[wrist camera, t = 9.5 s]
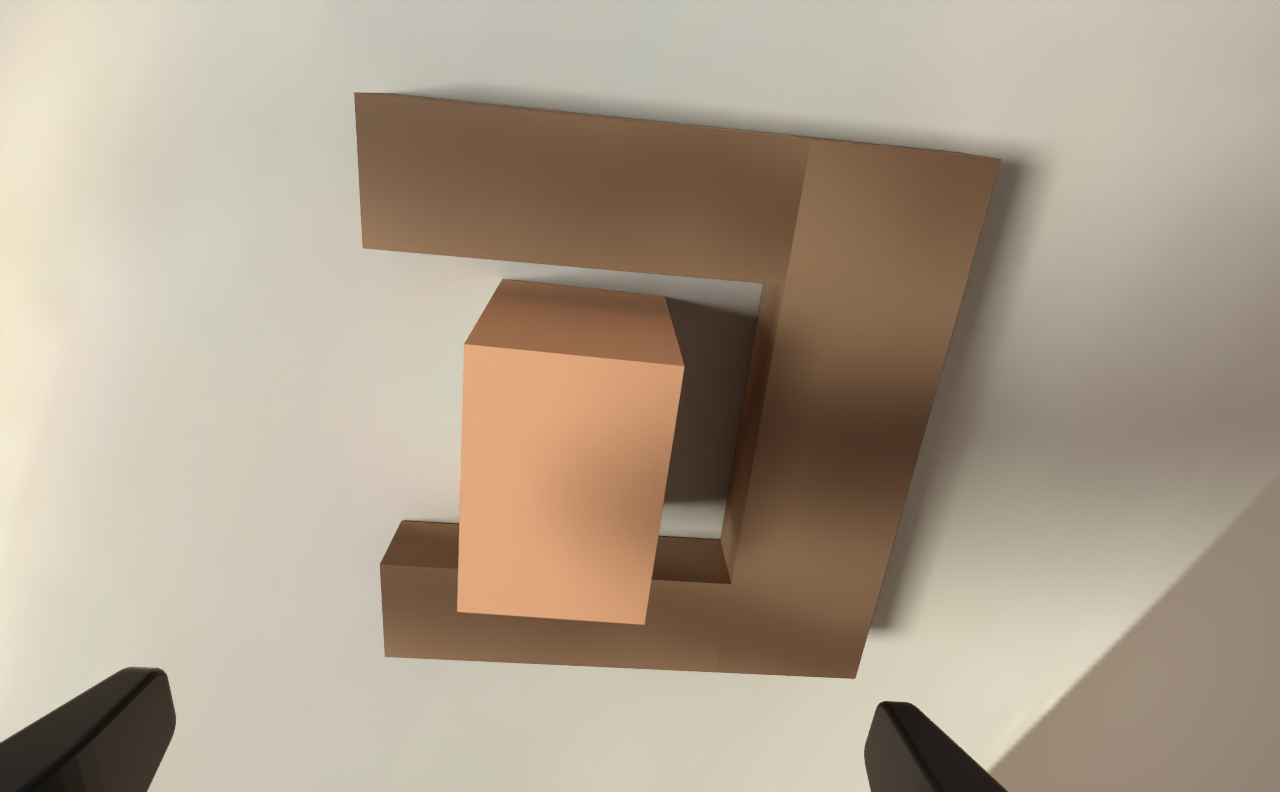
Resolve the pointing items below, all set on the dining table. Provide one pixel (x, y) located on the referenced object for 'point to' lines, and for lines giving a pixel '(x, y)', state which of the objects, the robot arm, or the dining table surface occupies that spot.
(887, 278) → the notched board
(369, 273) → the dining table surface
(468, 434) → the block
